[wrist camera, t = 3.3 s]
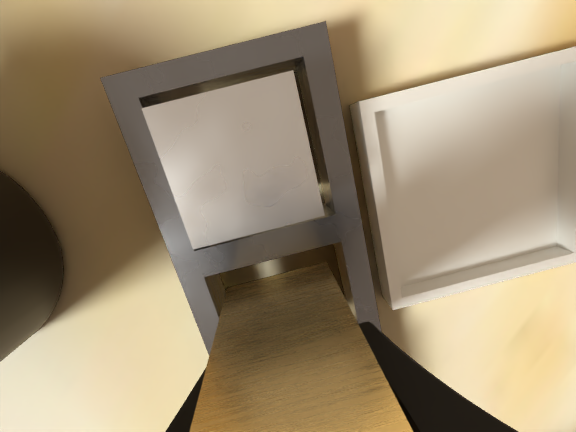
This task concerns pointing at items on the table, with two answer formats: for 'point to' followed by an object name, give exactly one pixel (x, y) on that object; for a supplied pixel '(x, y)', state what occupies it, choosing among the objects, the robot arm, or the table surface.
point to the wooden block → (293, 362)
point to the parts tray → (471, 178)
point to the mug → (25, 266)
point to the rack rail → (245, 163)
